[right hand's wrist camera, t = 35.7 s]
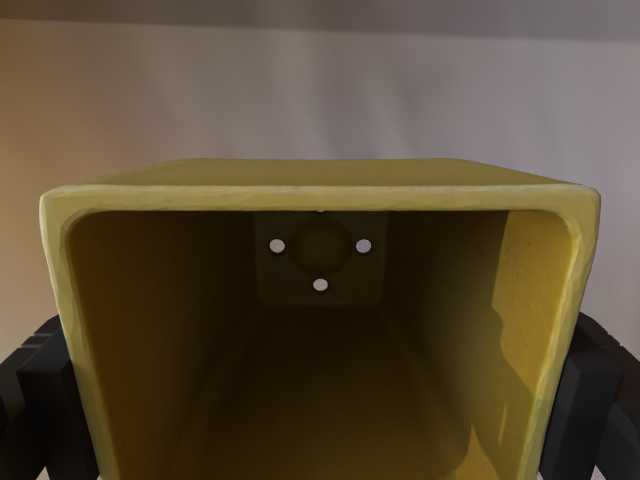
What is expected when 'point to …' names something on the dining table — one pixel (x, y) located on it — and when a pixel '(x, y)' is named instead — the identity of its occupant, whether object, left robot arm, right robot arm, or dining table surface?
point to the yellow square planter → (319, 316)
